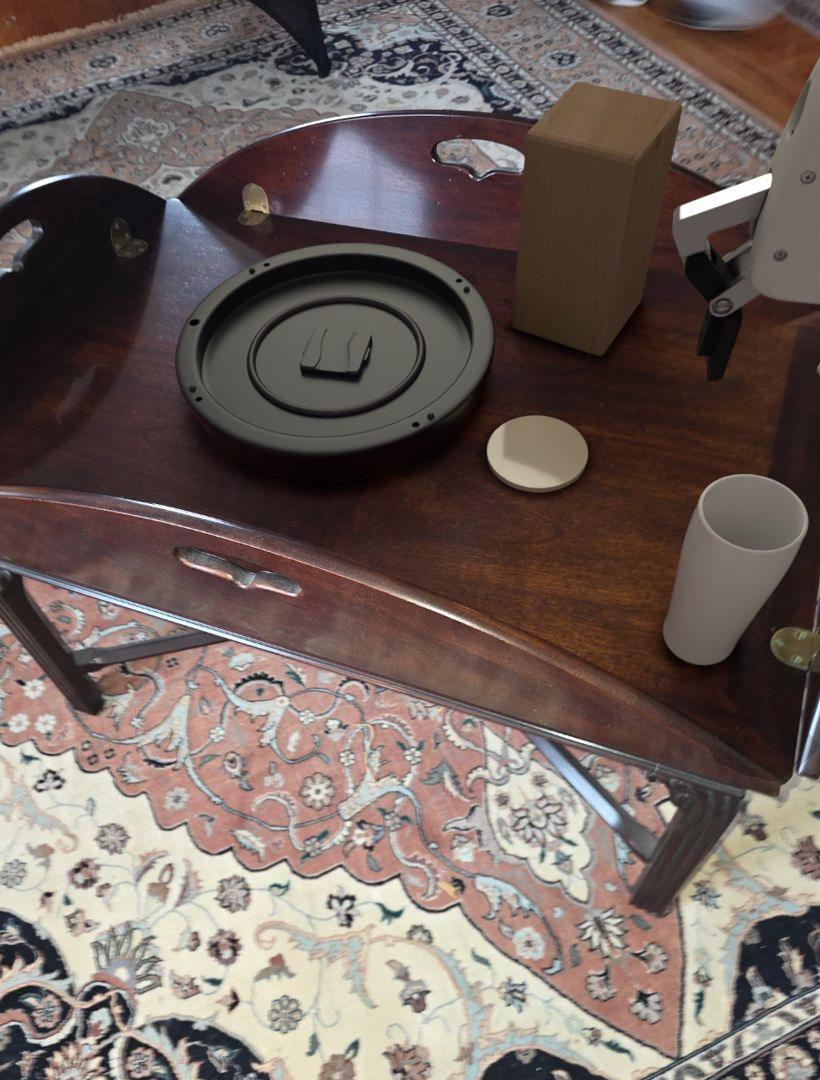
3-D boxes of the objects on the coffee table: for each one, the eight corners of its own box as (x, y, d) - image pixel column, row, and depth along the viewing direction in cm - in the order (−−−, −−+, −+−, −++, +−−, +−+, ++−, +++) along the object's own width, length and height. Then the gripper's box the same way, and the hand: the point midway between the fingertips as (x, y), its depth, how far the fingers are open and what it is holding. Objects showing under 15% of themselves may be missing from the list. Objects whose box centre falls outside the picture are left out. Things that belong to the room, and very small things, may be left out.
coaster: (590, 424, 81) (591, 420, 80) (583, 497, 76) (584, 493, 75) (493, 415, 82) (493, 411, 82) (479, 486, 77) (480, 482, 77)
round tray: (509, 298, 92) (238, 280, 97) (513, 247, 87) (227, 230, 92) (469, 515, 76) (146, 479, 81) (470, 467, 71) (126, 432, 76)
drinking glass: (690, 691, 65) (747, 571, 52) (633, 625, 68) (674, 498, 56) (762, 652, 66) (835, 526, 54) (703, 589, 70) (758, 457, 57)
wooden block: (642, 302, 90) (685, 101, 74) (601, 359, 86) (638, 159, 69) (553, 275, 94) (575, 78, 77) (509, 329, 89) (524, 132, 73)
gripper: (727, 46, 31) (636, 406, 45) (1288, 63, 28) (1003, 441, 42) (724, -42, 35) (641, 313, 49) (1214, -35, 32) (977, 340, 46)
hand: (809, 372), depth 46 cm, fingers open, 9 cm apart
